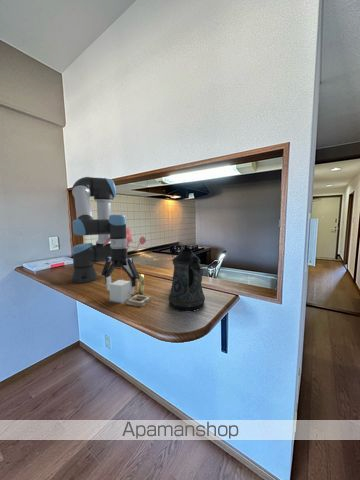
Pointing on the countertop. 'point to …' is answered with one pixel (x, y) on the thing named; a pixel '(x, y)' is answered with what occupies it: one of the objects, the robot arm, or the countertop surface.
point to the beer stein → (186, 283)
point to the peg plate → (120, 302)
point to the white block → (119, 290)
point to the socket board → (139, 303)
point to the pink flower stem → (129, 239)
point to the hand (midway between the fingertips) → (120, 291)
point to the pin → (140, 284)
